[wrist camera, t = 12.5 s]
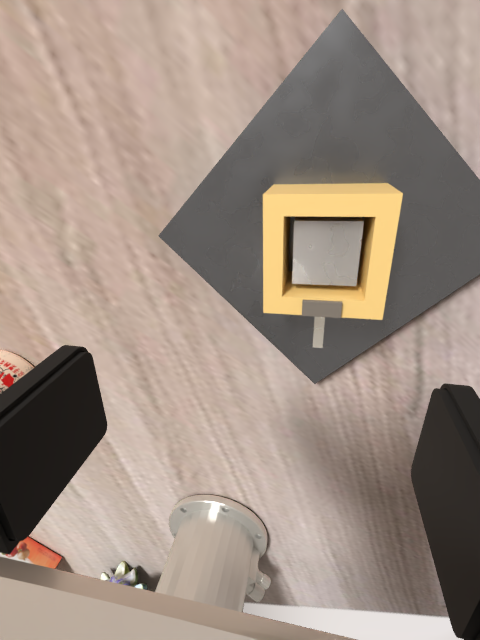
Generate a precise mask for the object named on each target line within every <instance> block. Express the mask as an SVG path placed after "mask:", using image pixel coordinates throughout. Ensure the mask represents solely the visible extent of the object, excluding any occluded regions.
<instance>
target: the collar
mask: <svg viewBox="0 0 480 640" xmlns="http://www.w3.org/2000/svg"><path fill="white" fill-rule="evenodd" d="M402 197H403V193H402V192H400V191H399V190H397V189H396V188H394V187H393V186H391V185H390V184H388V183H353V184H274V185H272V186H271V187H270V188H269V189H268V190H267V191H266V192H265V193H264V194H263V313H273V314H291V315H302V316H314V317H331V318H341V317H342V318H359V319H376V320H382V319H383V313H384V307H385V301H386V295H387V289H388V283H389V276H390V270H391V264H392V258H393V252H394V246H395V240H396V233H397V227H398V221H399V215H400V209H401V203H402ZM290 216H316V217H364V225H363V234H362V242H361V250H360V259H359V267H358V276H357V284H356V286H338V285H313V284H292V271H289V240H290Z"/></svg>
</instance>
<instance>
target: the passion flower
mask: <svg viewBox="0 0 480 640" xmlns="http://www.w3.org/2000/svg"><path fill="white" fill-rule="evenodd" d="M100 579H101V580H105V581H110V582H114V583H118V584H123V585H127V586H131V587H136V588H140V589H144V590H147V584H144V583H141V584H138V585H137V583H138V573H137V570H136V568H133V569H132V570H131V571H129V568H128V565H127V563H126V562H125V561H122V562H121V563H120V564H119V565H118V567H117V570H116V572H115V574H114V576H112V577H111V578H110V577H109V575H108V574H107V573H105V572H103V573H102V574H101V578H100Z"/></svg>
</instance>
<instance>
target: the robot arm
mask: <svg viewBox="0 0 480 640" xmlns="http://www.w3.org/2000/svg"><path fill="white" fill-rule="evenodd" d="M106 430H107V420H106V416H105V411H104V407H103V402H102V398H101V393H100V389H99V384H98V380H97V375H96V371H95V366H94V362H93V357H92V355H91V354H90V353H89V352H88V351H87V349H86V348H84V347H79V346H69V345H64V346H62V347H60V348H59V349H58V350H57V351H55V352H54V353H53V354H51V355H50V356H49V357H47V358H46V359H45V360H44V361H42V362H41V363H40V364H38V365H37V366H36V367H34V368H33V369H32V370H31V371H29V372H28V373H27V374H25V375H24V376H23V377H21V378H20V379H19V380H18V381H16V382H15V383H14V384H12V385H11V386H10V387H8V388H7V389H6V390H5V391H3V392H2V393H1V394H0V553H5V554H9V555H10V554H11V552H12V551H13V550H14V548H15V547H16V546H17V544H18V543H19V542H20V541H23V540H24V539H26V538H27V537H28V536H29V535H30V533H31V532H32V531H33V529H34V528H35V527H36V525H37V524H38V523H39V521H40V520H41V519H42V517H43V516H44V515H45V514H46V512H47V511H48V510H49V508H50V507H51V506H52V504H53V503H54V502H55V500H56V499H57V498H58V496H59V495H60V494H61V492H62V491H63V490H64V488H65V487H66V486H67V484H68V483H69V482H70V480H71V479H72V478H73V476H74V475H75V474H76V472H77V471H78V470H79V468H80V467H81V466H82V464H83V463H84V462H85V460H86V459H87V458H88V456H89V455H90V454H91V452H92V451H93V450H94V448H95V447H96V446H97V444H98V443H99V442H100V440H101V439H102V438H103V436H104V435H105V433H106ZM411 478H412V483H413V487H414V491H415V494H416V498H417V501H418V505H419V509H420V512H421V516H422V520H423V523H424V527H425V531H426V534H427V538H428V542H429V545H430V549H431V552H432V556H433V560H434V563H435V567H436V571H437V574H438V578H439V582H440V585H441V589H442V593H443V596H444V600H445V604H446V607H447V611H448V614H449V618H450V621H451V625H452V628H453V631H454V633H455V635H456V636H457V637H458V638H462V639H464V640H480V399H479V397H478V396H477V394H476V392H475V391H474V389H473V388H472V387H470V386H464V385H454V384H443V385H442V386H441V388H440V389H434V390H433V392H432V395H431V398H430V402H429V406H428V409H427V413H426V417H425V420H424V424H423V428H422V431H421V435H420V439H419V442H418V446H417V449H416V453H415V457H414V460H413V464H412V469H411ZM169 527H170V531H171V533H172V535H173V537H174V538H175V539H174V542H173V545H172V548H171V550H170V553H169V556H168V558H167V561H166V564H165V566H164V569H163V572H162V575H161V577H160V580H159V583H158V585H157V588H156V591H155V592H153V591H149V590H144V589H140V588H136V587H131V586H127V585H123V584H118V583H114V582H110V581H105V580H101V579H97V578H92V577H88V576H84V575H79V574H75V573H71V572H66V571H62V570H57V569H53V568H49V567H44V566H40V565H35V564H31V563H26V562H22V561H17V560H13V559H9V558H4V557H0V640H356V639H352V638H348V637H344V636H339V635H335V634H331V633H327V632H323V631H318V630H314V629H310V628H306V627H302V626H297V625H293V624H289V623H285V622H280V621H276V620H272V619H268V618H263V617H259V616H255V615H251V614H247V613H243V606H244V601H245V595H246V594H247V595H248V596H249V597H250V598H252V599H253V600H254V601H256V602H260V601H261V600H262V598H263V597H264V594H265V590H266V589H268V588H269V586H270V583H271V579H270V577H268V576H267V575H266V574H264V573H263V572H261V571H260V570H259V569H258V561H259V559H260V558H261V557H262V556H263V555H264V553H265V551H266V547H267V532H266V529H265V527H264V525H263V523H262V522H261V520H260V519H259V518H258V517H257V516H256V515H255V514H254V513H253V512H251V511H250V510H249V509H248V508H246V507H244V506H243V505H241V504H239V503H237V502H235V501H233V500H230V499H227V498H224V497H220V496H215V495H194V496H190V497H187V498H184V499H183V500H181V501H179V502H178V503H177V504H176V505H175V506H174V508H173V510H172V512H171V515H170V518H169Z"/></svg>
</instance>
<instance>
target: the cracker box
mask: <svg viewBox="0 0 480 640" xmlns="http://www.w3.org/2000/svg"><path fill="white" fill-rule="evenodd" d="M0 557H4V558H9V559H13V560H17V561H22V562H26V563H31V564H35V565H40V566H44V567H49V568H53V569H55V568H56V567H57V565H58V564H59V562H60V560H61V559H62V557H61V556H59V555H58V554H56V553H54V552H53V551H51V550H49V549H48V548H46V547H44V546H43V545H41V544H39V543H37V542H36V541H34V540H33V539H31V538H29V537H27V538H26V539H24V540H23V541H20V542H19V543H18V544H17V546H16V547H15V548H14V550H13V551H12V552H11V554H10V555H9V554H5V553H0Z"/></svg>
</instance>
